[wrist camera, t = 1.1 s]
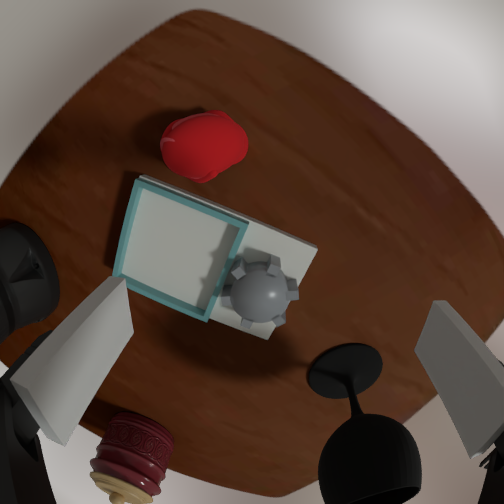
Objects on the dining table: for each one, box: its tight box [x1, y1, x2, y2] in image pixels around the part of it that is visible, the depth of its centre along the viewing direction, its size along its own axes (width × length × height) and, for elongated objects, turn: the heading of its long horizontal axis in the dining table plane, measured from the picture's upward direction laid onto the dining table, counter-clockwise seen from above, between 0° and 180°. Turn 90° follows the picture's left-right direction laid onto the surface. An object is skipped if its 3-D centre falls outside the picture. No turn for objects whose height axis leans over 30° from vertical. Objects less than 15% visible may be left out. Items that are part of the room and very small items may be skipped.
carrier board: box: [112, 174, 318, 340], centre depth 28 cm, size 19×12×4 cm, turn 67°
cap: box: [160, 110, 248, 183], centre depth 24 cm, size 8×6×6 cm
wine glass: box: [309, 344, 422, 504], centre depth 25 cm, size 10×10×20 cm
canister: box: [90, 412, 174, 504], centre depth 35 cm, size 13×13×18 cm
